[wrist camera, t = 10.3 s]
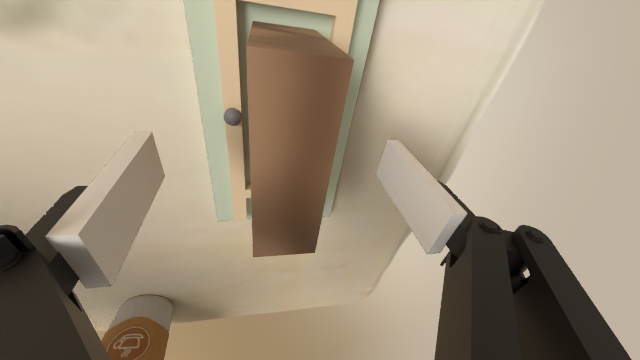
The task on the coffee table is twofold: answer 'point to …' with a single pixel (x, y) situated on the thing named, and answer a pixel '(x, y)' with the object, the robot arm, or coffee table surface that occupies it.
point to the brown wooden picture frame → (292, 132)
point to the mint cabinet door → (231, 80)
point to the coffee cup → (139, 329)
